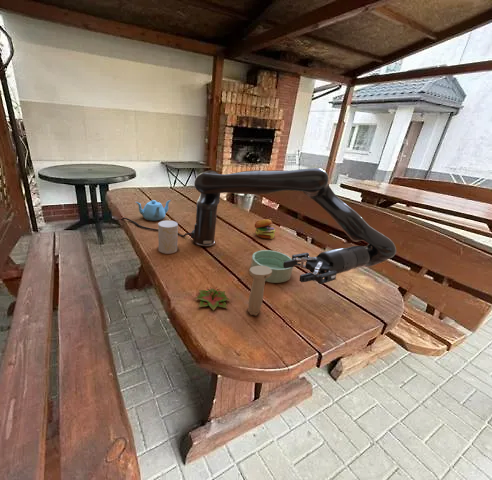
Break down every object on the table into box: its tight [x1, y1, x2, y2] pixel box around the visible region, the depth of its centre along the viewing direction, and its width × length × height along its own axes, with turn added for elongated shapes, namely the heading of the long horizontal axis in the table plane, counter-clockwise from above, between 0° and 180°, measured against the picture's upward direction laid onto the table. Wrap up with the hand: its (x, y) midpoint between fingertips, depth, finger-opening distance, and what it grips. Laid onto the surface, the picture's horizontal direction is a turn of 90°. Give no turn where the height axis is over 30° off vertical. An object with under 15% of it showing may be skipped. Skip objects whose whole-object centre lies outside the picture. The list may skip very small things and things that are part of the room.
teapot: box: [135, 199, 172, 222], centre depth 148 cm, size 15×15×10 cm
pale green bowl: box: [250, 249, 294, 284], centre depth 101 cm, size 16×16×6 cm
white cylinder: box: [157, 220, 179, 255], centre depth 112 cm, size 8×8×12 cm
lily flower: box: [195, 286, 231, 312], centre depth 83 cm, size 12×12×5 cm
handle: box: [247, 266, 272, 316], centre depth 77 cm, size 5×6×15 cm
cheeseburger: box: [254, 218, 276, 240], centre depth 136 cm, size 10×11×10 cm
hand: (291, 271), depth 78 cm, fingers open, 8 cm apart
